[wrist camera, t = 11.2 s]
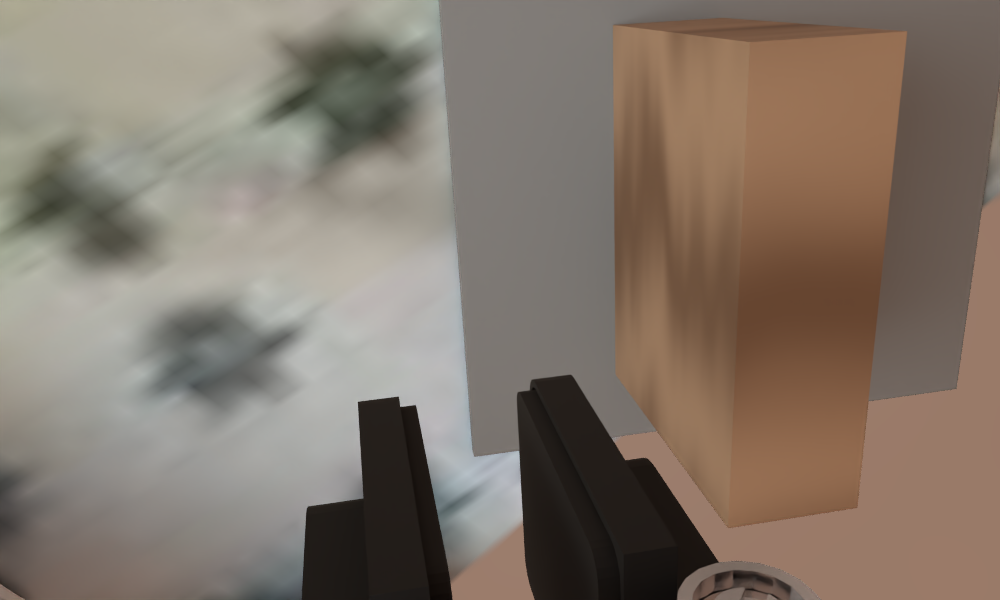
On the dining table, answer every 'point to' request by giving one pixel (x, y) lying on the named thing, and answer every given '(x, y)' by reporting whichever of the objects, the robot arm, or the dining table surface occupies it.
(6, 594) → the tea box
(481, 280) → the mat
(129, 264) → the dining table surface
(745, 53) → the slab
